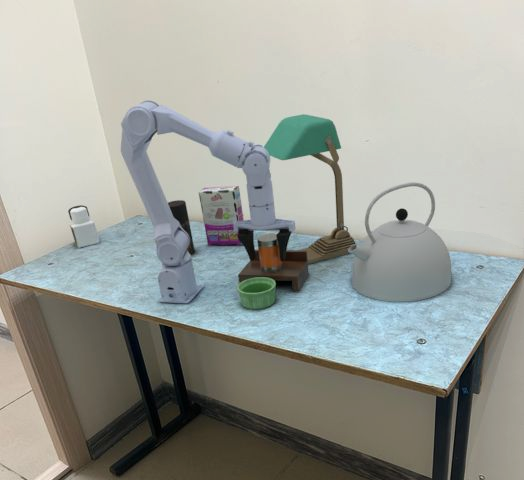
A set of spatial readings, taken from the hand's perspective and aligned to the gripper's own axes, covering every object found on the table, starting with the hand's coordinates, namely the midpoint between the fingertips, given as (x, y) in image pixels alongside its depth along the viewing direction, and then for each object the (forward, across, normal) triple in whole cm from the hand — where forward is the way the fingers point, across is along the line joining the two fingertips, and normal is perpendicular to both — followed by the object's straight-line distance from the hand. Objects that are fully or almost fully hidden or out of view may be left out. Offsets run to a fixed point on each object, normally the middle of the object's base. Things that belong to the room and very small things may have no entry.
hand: (267, 259), depth 130 cm
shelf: (+7, 0, -3) cm, 8 cm away
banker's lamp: (+7, -7, -20) cm, 23 cm away
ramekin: (+8, 0, +8) cm, 11 cm away
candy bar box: (+8, +23, -30) cm, 38 cm away
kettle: (+7, -30, -6) cm, 31 cm away
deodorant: (+8, +33, -21) cm, 40 cm away
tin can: (+3, 0, -2) cm, 4 cm away
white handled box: (+8, +73, -29) cm, 79 cm away
